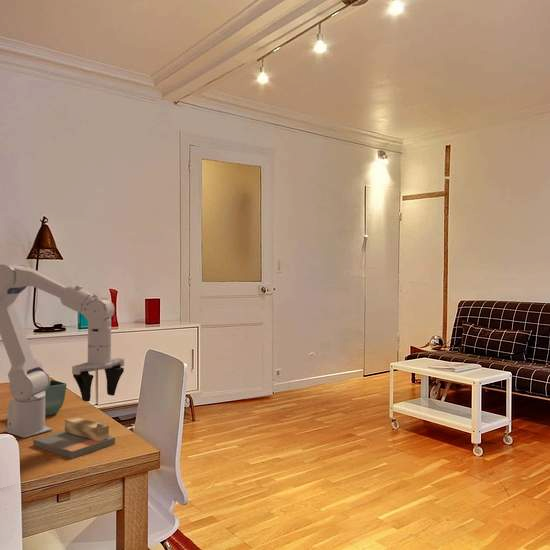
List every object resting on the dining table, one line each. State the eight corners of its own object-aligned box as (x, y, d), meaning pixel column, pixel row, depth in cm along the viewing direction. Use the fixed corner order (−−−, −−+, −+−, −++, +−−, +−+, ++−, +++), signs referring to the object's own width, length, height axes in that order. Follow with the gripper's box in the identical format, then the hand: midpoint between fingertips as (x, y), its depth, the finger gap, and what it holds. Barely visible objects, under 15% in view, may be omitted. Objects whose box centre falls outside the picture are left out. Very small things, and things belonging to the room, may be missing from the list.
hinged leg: (108, 438, 123) (108, 423, 123) (98, 441, 120) (98, 426, 120) (75, 428, 130) (75, 414, 130) (64, 431, 127) (64, 417, 127)
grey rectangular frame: (33, 445, 122) (33, 438, 122) (76, 432, 132) (76, 426, 132) (71, 458, 114) (71, 451, 114) (114, 443, 124) (114, 437, 124)
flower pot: (52, 408, 155) (52, 379, 155) (67, 413, 149) (67, 383, 149) (23, 414, 148) (23, 383, 148) (37, 420, 142) (37, 388, 142)
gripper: (84, 350, 122) (84, 406, 123) (132, 343, 135) (131, 394, 135) (67, 347, 126) (66, 401, 126) (114, 341, 138) (114, 390, 139)
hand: (98, 397), depth 131 cm, fingers open, 7 cm apart
